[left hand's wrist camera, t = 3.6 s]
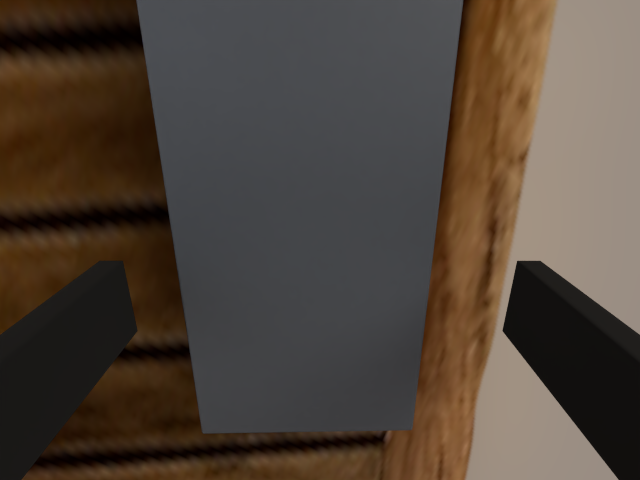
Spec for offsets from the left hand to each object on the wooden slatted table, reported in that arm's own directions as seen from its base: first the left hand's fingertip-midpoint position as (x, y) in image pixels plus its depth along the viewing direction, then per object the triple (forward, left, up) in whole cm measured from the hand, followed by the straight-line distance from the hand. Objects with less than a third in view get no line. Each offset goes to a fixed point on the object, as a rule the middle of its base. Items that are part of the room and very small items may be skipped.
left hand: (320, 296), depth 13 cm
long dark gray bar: (+3, +30, -8) cm, 31 cm away
